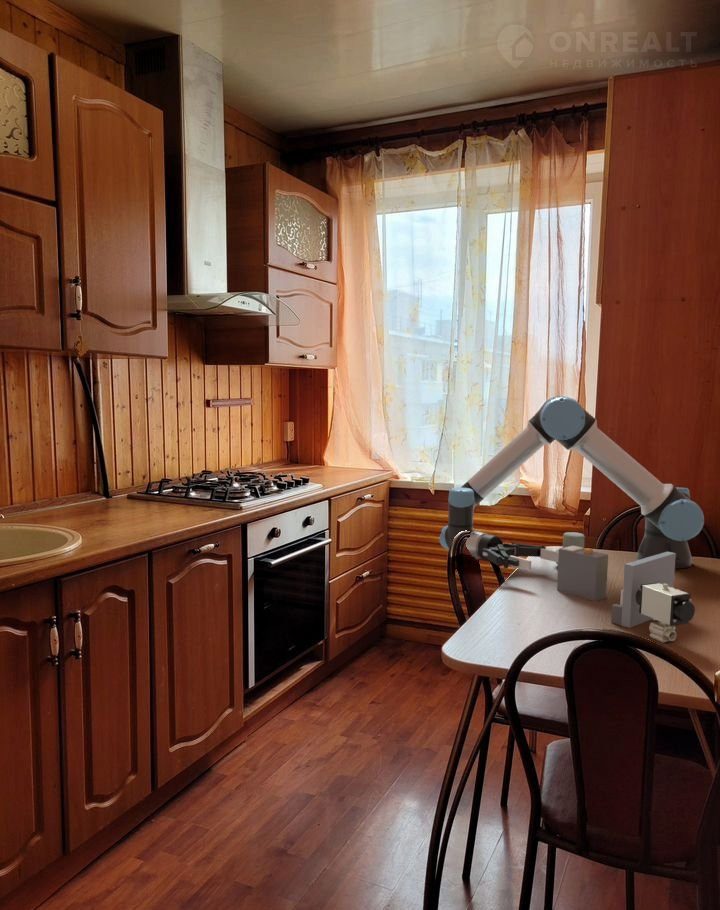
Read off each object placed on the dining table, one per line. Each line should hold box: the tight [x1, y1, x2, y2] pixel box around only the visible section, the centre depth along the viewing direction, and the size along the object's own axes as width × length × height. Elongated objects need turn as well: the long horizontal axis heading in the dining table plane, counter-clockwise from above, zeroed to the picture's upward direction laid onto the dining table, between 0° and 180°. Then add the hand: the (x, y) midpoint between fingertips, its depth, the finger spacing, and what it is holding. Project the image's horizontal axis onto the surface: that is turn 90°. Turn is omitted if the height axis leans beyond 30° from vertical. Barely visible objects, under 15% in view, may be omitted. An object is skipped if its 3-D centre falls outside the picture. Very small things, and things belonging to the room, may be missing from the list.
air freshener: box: [555, 531, 586, 565], centre depth 203 cm, size 11×8×10 cm
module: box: [556, 546, 609, 602], centre depth 178 cm, size 5×11×12 cm, turn 39°
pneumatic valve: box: [635, 583, 696, 644], centre depth 147 cm, size 6×12×12 cm, turn 23°
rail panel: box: [610, 552, 676, 629], centre depth 161 cm, size 19×4×14 cm, turn 129°
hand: (546, 561), depth 186 cm, fingers open, 13 cm apart
